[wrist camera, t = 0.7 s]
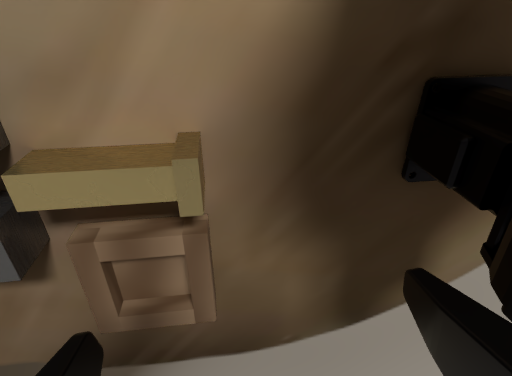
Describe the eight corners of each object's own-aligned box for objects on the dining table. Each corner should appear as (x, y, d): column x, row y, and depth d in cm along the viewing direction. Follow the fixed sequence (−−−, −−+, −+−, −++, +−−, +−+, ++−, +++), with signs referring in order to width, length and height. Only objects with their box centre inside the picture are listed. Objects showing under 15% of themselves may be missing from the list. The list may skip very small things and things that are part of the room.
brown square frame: (207, 214, 20) (207, 233, 19) (216, 298, 24) (216, 321, 23) (78, 223, 20) (65, 244, 18) (108, 310, 24) (100, 333, 22)
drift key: (199, 131, 18) (197, 158, 14) (204, 181, 19) (203, 215, 16) (28, 139, 17) (-14, 169, 14) (48, 191, 18) (15, 229, 15)
